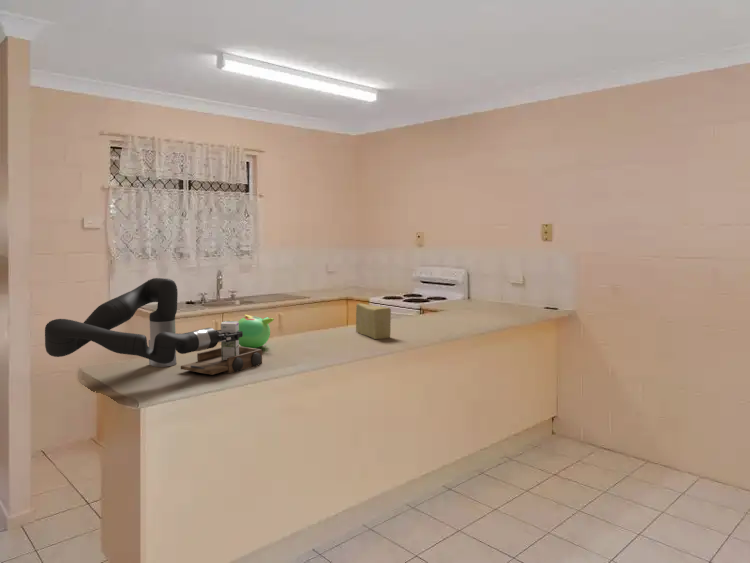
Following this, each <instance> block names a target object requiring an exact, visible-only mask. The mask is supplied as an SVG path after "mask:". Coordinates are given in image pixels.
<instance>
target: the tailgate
mask: <svg viewBox="0 0 750 563" xmlns="http://www.w3.org/2000/svg"><path fill="white" fill-rule="evenodd" d="M180 370H183V371H187V372H189V371H190V372H194V373H195V372H196V373H200V374H205V375H210V376H211V375H212V376H213V375H216V374H219V373H224V372H223V371H226V370H228V367H227V366H221V365H215V364H209V363H203V362H198V361H194V362H190V363H186V364H183V365H180Z"/></svg>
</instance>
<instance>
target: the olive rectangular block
mask: <svg viewBox="0 0 750 563" xmlns="http://www.w3.org/2000/svg"><path fill="white" fill-rule="evenodd" d="M355 311H356V312H355V332H356V333H357V332H358V334H361V335H363V336H366V337H369V338H372V339H373V340H382V339H388V338H390V337H391V322H392V320H391V314H392V313H391V311H392V310H391V308H390V307H385V306H379V305H371V304H365V303H361V302H359V303H356V309H355Z"/></svg>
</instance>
